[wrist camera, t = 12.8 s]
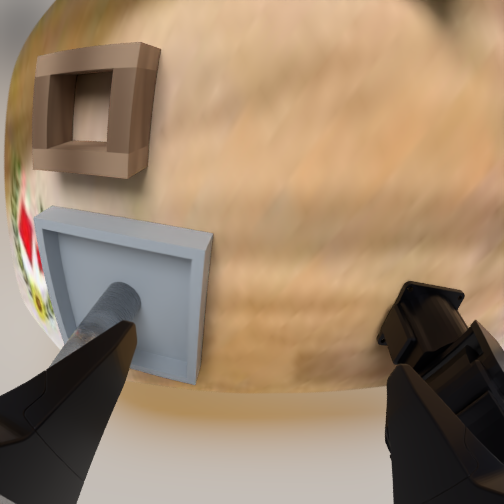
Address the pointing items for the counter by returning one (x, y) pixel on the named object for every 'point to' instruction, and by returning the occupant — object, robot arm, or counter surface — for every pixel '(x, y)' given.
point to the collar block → (120, 110)
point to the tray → (131, 281)
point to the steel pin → (103, 316)
